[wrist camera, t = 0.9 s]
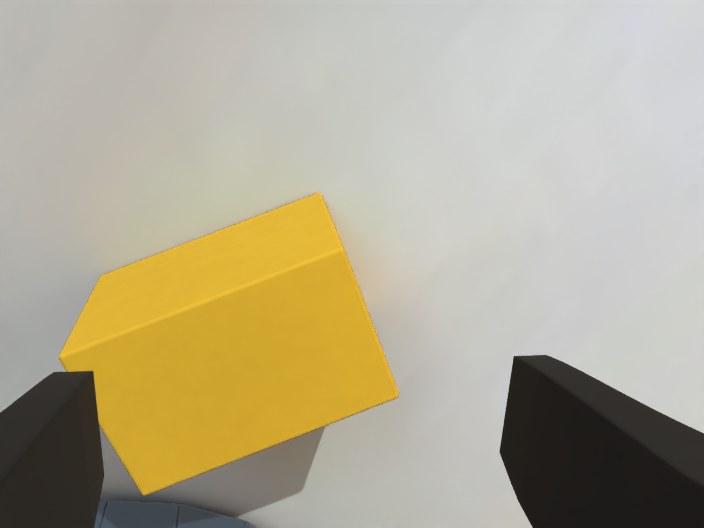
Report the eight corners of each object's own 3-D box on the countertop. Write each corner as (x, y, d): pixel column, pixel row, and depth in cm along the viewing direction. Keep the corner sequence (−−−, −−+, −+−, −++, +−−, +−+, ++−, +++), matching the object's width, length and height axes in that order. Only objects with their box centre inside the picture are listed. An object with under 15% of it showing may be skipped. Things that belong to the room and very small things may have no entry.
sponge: (366, 314, 22) (400, 398, 17) (163, 392, 21) (142, 498, 17) (320, 191, 20) (344, 246, 15) (99, 275, 20) (55, 357, 15)
